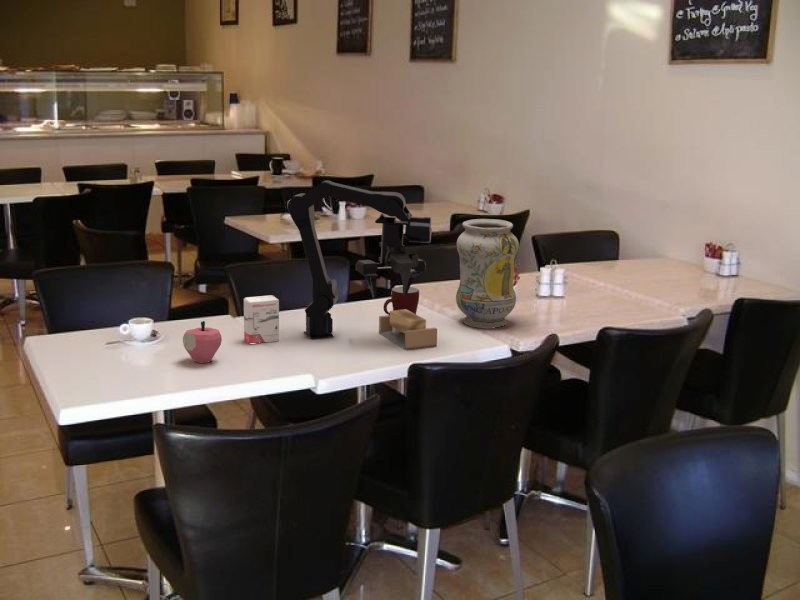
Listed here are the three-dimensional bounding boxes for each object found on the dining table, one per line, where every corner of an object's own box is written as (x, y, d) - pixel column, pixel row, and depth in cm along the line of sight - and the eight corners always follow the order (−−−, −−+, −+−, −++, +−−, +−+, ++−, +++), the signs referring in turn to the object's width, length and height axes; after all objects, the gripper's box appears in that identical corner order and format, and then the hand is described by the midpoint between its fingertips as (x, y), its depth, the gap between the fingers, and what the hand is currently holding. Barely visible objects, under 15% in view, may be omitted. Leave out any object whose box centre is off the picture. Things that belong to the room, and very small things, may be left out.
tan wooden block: (409, 336, 240) (409, 321, 239) (389, 324, 250) (389, 310, 249) (425, 334, 242) (426, 319, 241) (405, 323, 252) (406, 309, 251)
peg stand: (406, 350, 237) (407, 332, 236) (378, 333, 252) (379, 316, 251) (436, 346, 241) (437, 328, 240) (407, 330, 256) (407, 313, 255)
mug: (390, 328, 258) (391, 294, 255) (378, 321, 265) (379, 288, 262) (423, 324, 262) (424, 291, 260) (410, 318, 269) (411, 285, 267)
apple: (177, 360, 225) (176, 321, 222) (207, 353, 230) (206, 316, 228) (198, 369, 218) (197, 330, 216) (228, 362, 224) (227, 323, 221)
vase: (483, 335, 253) (488, 229, 246) (441, 321, 267) (444, 220, 259) (527, 325, 265) (533, 224, 257) (484, 312, 278) (489, 216, 271)
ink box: (249, 345, 239) (248, 301, 236) (243, 340, 243) (242, 297, 240) (280, 341, 243) (279, 298, 240) (273, 336, 247) (273, 294, 244)
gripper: (373, 247, 229) (370, 306, 233) (437, 244, 237) (433, 301, 241) (355, 239, 239) (353, 296, 243) (417, 237, 247) (414, 292, 251)
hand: (389, 296), depth 244 cm, fingers open, 9 cm apart
